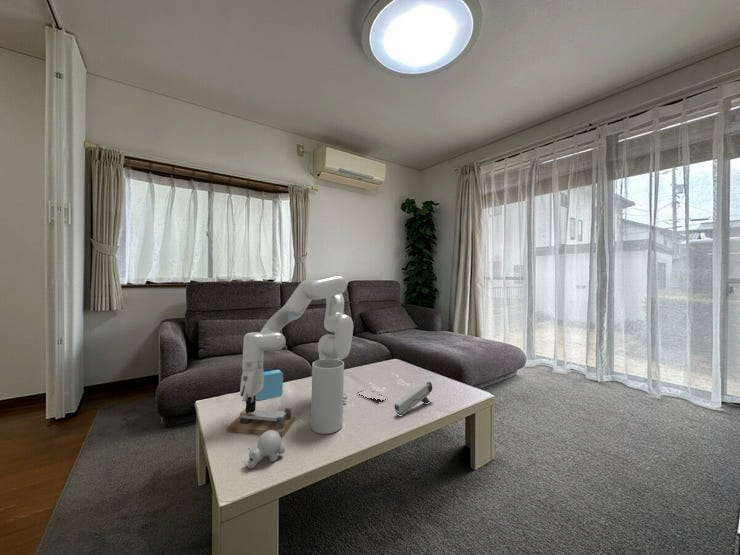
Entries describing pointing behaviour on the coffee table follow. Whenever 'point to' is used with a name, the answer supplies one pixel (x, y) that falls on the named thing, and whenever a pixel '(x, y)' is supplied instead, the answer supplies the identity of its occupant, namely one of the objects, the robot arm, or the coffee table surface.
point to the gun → (414, 398)
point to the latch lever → (262, 415)
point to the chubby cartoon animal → (266, 448)
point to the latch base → (261, 425)
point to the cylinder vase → (327, 395)
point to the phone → (373, 398)
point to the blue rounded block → (271, 385)
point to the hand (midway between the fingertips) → (250, 411)
